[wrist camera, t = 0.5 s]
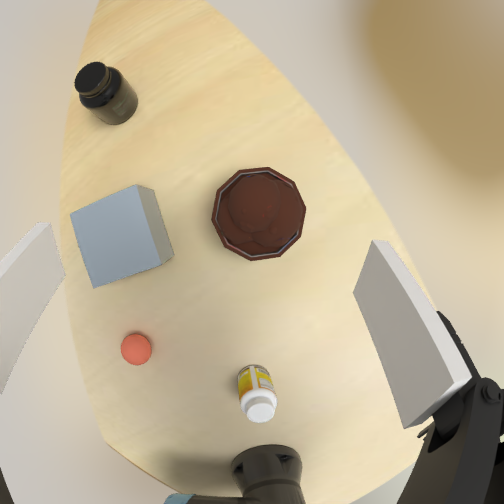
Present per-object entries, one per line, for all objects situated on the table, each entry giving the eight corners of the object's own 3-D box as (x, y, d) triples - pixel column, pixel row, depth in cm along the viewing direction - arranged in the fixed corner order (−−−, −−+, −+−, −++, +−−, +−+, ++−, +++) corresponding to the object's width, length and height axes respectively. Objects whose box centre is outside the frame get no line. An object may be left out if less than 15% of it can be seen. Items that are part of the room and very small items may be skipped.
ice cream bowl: (209, 244, 42) (201, 260, 27) (223, 170, 41) (223, 146, 26) (279, 257, 43) (307, 278, 28) (293, 184, 42) (327, 170, 27)
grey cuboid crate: (174, 254, 42) (161, 264, 33) (116, 275, 41) (93, 288, 33) (153, 190, 40) (136, 184, 32) (96, 213, 40) (69, 214, 31)
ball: (159, 352, 43) (152, 367, 38) (133, 359, 43) (125, 373, 38) (146, 326, 43) (138, 338, 38) (121, 333, 42) (111, 345, 37)
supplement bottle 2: (238, 391, 46) (242, 428, 36) (236, 365, 45) (239, 400, 35) (270, 388, 46) (280, 424, 36) (269, 362, 45) (280, 396, 35)
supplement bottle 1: (93, 111, 37) (59, 85, 26) (121, 81, 37) (95, 47, 25) (117, 133, 38) (85, 109, 27) (146, 101, 38) (123, 68, 26)
